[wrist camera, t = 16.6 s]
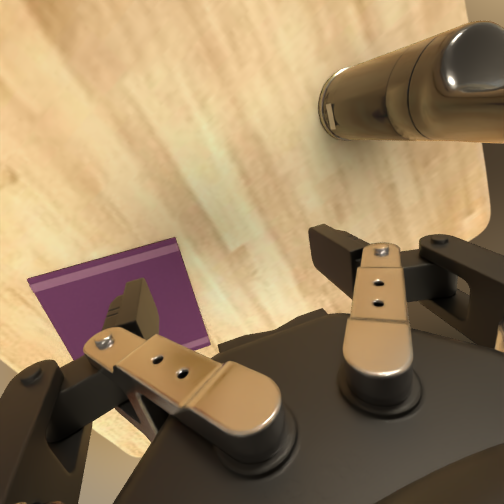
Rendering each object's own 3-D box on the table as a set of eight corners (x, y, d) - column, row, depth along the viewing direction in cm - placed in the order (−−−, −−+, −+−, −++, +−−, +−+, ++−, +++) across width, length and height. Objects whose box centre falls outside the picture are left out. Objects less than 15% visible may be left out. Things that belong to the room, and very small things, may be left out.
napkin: (175, 237, 43) (175, 238, 43) (210, 343, 51) (210, 345, 51) (27, 278, 40) (26, 280, 40) (90, 385, 48) (89, 387, 48)
